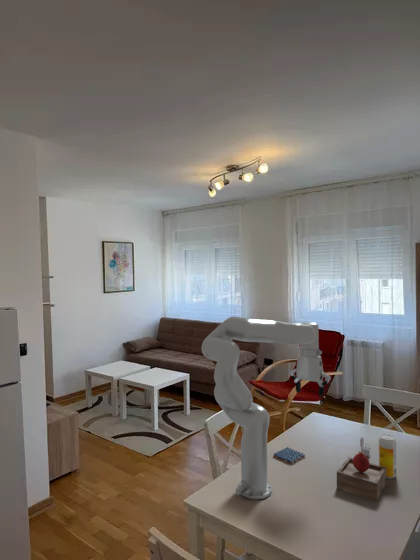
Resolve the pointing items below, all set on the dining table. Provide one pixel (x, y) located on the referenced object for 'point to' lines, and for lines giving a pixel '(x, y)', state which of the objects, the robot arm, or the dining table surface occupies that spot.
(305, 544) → the dining table surface
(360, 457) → the pomegranate
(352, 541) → the dining table surface
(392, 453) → the beer can
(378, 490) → the walnut tray
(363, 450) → the architectural model
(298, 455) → the woven mat
